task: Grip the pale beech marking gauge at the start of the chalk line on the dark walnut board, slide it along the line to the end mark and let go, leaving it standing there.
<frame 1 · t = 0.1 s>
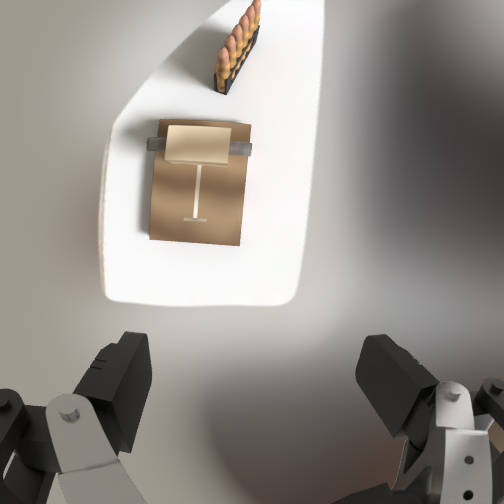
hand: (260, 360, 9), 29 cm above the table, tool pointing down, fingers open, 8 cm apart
walnut board: (199, 181, 35), on the table
marking gauge: (201, 150, 32), point 2 cm above the table, touching walnut board
ammunition clip: (235, 64, 32), on the table
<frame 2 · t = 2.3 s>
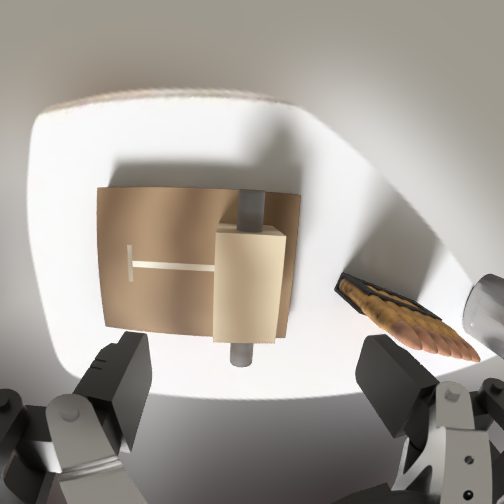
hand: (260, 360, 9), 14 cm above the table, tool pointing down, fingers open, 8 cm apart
walnut board: (193, 260, 23), on the table
marking gauge: (242, 269, 21), point 2 cm above the table, touching walnut board
ammunition clip: (378, 296, 25), on the table
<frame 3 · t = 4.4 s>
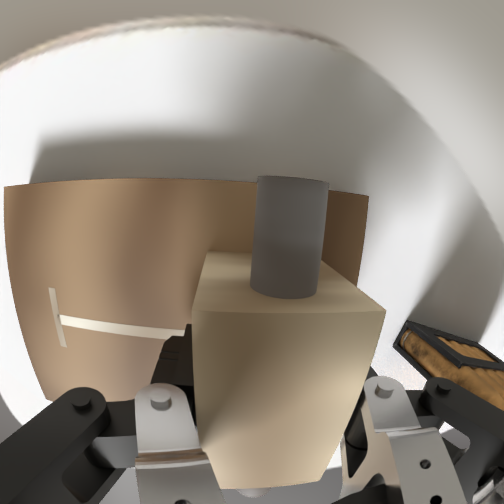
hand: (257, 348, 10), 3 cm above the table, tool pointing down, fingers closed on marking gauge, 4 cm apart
walnut board: (166, 312, 12), on the table
marking gauge: (255, 338, 11), point 2 cm above the table, touching gripper, walnut board
ammunition clip: (442, 344, 15), on the table
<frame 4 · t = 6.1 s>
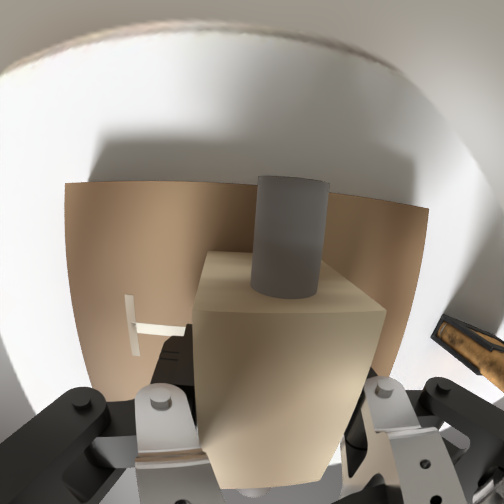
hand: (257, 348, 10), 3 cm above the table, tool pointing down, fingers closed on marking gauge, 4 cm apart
walnut board: (245, 314, 13), on the table
marking gauge: (256, 338, 11), point 2 cm above the table, touching gripper
ammunition clip: (467, 335, 16), on the table
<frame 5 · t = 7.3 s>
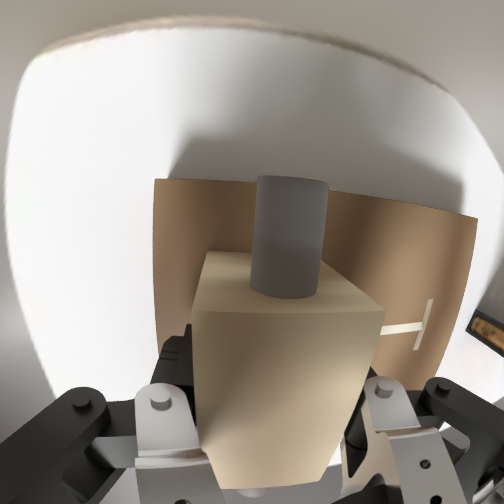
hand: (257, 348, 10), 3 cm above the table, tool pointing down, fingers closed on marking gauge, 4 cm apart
walnut board: (328, 315, 13), on the table
marking gauge: (255, 338, 11), point 2 cm above the table, touching gripper
ammunition clip: (491, 329, 16), on the table
when the fingers open (3 cm above the table, at t = 7.8 s): marking gauge stays where it is, resting on walnut board.
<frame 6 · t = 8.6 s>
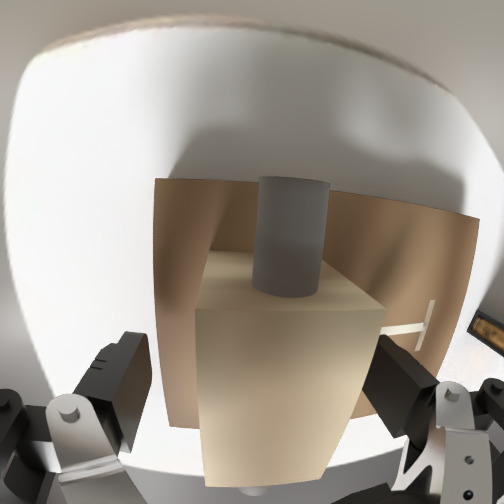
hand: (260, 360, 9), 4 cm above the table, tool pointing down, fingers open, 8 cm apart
walnut board: (329, 315, 13), on the table
marking gauge: (256, 337, 11), point 2 cm above the table, touching walnut board
ammunition clip: (492, 329, 16), on the table
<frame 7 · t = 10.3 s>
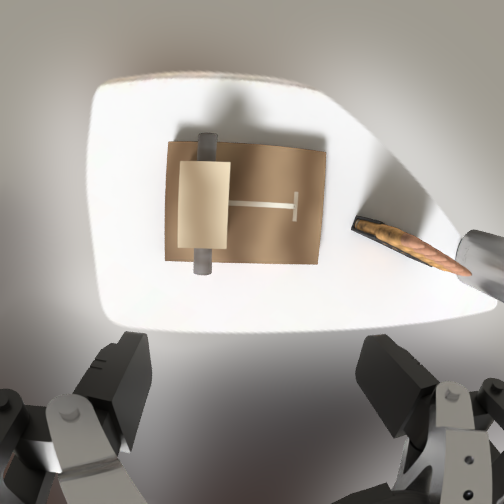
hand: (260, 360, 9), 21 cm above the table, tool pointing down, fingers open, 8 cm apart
walnut board: (244, 202, 28), on the table
marking gauge: (206, 202, 26), point 2 cm above the table, touching walnut board
ammunition clip: (384, 237, 32), on the table
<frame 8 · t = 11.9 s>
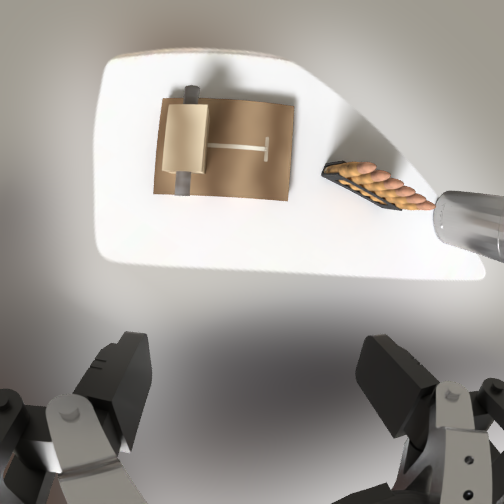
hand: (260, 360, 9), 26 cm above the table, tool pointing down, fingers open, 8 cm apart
walnut board: (223, 148, 32), on the table
marking gauge: (190, 144, 29), point 2 cm above the table, touching walnut board
ammunition clip: (355, 186, 35), on the table
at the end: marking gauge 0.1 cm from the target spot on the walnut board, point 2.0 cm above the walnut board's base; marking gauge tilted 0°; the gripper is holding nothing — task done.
